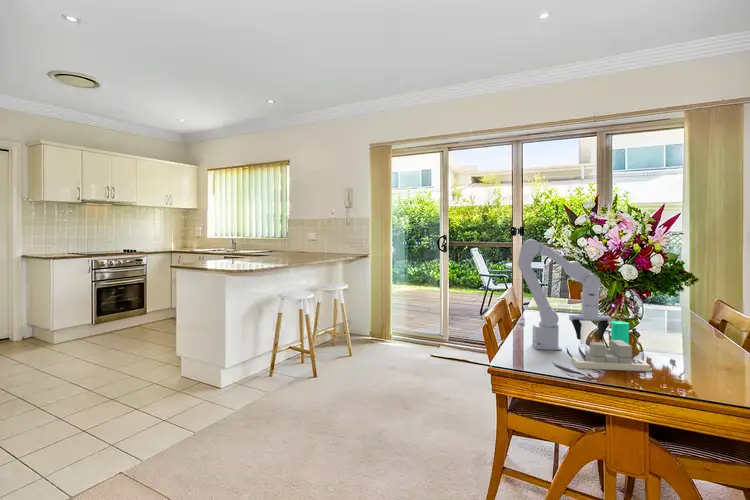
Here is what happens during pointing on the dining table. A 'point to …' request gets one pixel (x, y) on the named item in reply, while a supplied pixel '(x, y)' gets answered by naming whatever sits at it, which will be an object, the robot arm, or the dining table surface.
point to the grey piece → (612, 365)
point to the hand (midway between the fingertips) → (589, 339)
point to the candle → (620, 331)
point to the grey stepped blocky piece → (609, 352)
